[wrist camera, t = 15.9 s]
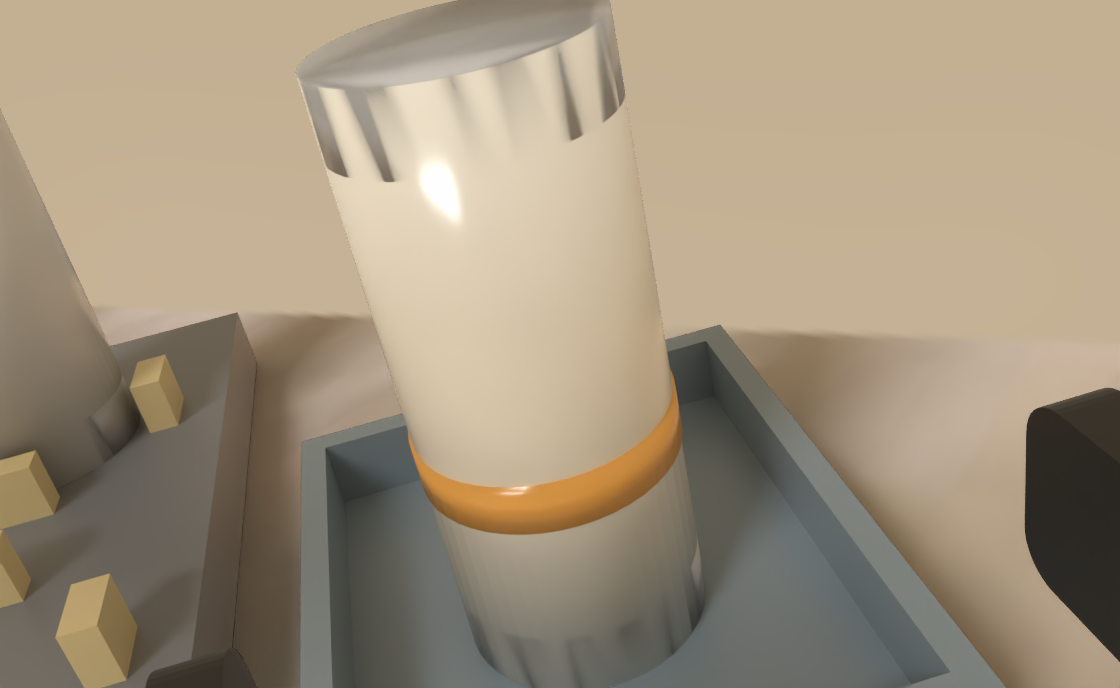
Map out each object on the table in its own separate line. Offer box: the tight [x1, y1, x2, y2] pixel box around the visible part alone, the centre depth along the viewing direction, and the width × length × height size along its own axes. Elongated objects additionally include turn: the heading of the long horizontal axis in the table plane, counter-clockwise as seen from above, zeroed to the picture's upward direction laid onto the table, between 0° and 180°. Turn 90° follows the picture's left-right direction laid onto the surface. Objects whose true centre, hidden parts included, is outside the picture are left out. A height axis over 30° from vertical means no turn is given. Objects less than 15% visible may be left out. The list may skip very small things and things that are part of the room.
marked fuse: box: [296, 0, 705, 688], centre depth 20 cm, size 5×5×12 cm
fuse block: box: [0, 313, 257, 688], centre depth 26 cm, size 10×22×4 cm, turn 12°
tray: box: [300, 325, 1006, 688], centre depth 22 cm, size 11×13×2 cm
